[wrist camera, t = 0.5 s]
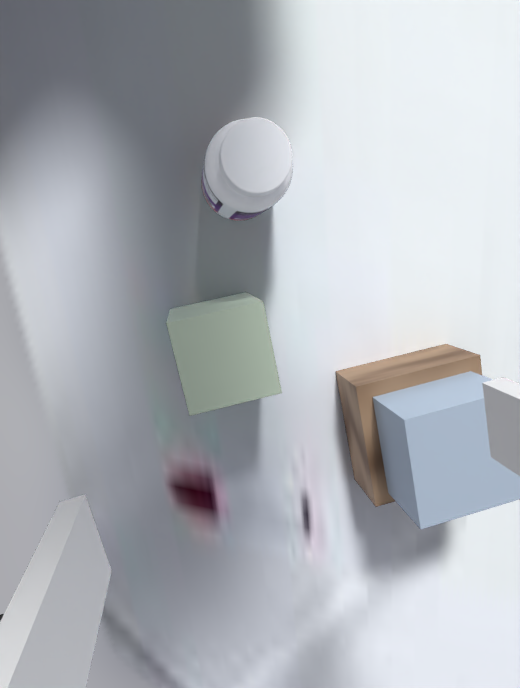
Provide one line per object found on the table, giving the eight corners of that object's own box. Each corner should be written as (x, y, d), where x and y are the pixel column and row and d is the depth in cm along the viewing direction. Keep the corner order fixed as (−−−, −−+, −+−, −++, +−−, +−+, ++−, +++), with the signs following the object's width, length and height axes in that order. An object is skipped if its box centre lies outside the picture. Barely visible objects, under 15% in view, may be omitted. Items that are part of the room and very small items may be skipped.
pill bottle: (284, 166, 35) (321, 131, 25) (255, 233, 35) (281, 224, 26) (217, 132, 34) (230, 83, 24) (189, 202, 34) (191, 180, 25)
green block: (170, 308, 35) (166, 323, 28) (246, 291, 36) (263, 301, 28) (188, 382, 37) (189, 416, 29) (261, 364, 37) (281, 392, 30)
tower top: (372, 397, 34) (404, 419, 29) (470, 371, 35) (517, 388, 30) (388, 493, 36) (420, 529, 31) (481, 465, 37) (527, 496, 32)
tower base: (334, 370, 39) (355, 386, 34) (444, 343, 40) (479, 355, 35) (353, 477, 41) (375, 506, 36) (456, 448, 42) (492, 473, 37)
